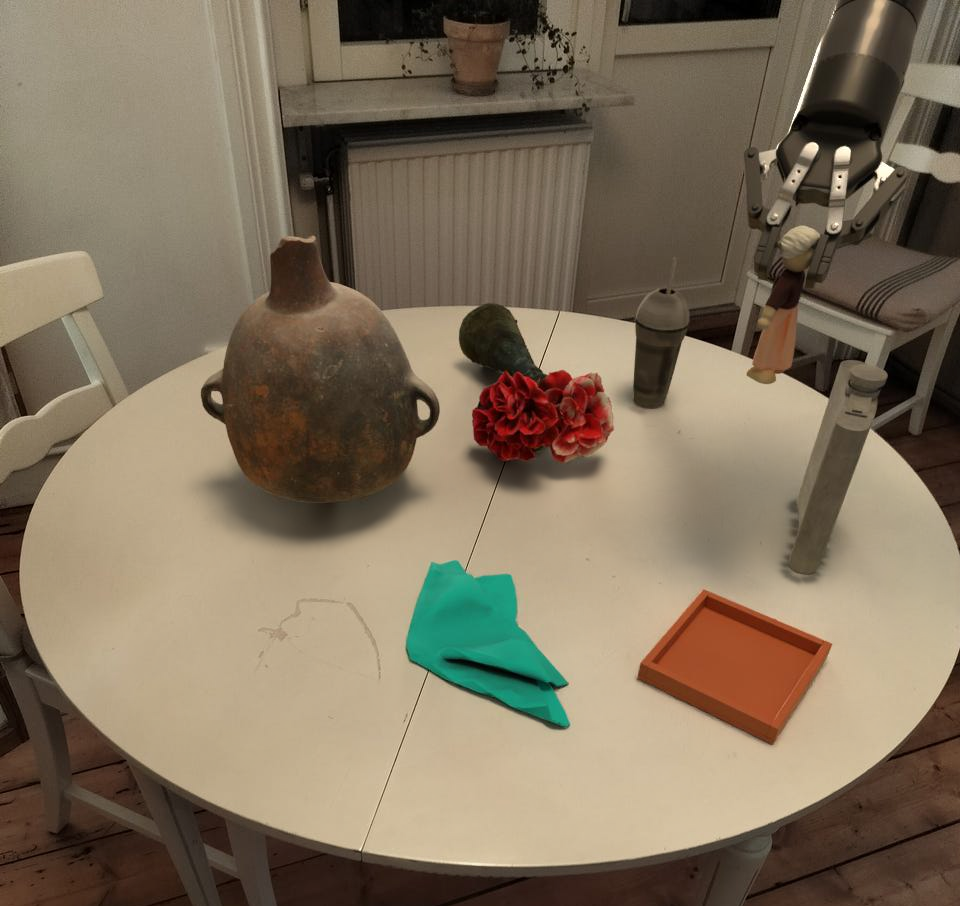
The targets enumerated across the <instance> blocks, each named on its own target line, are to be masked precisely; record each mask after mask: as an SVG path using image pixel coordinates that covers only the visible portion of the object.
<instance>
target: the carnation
mask: <svg viewBox="0 0 960 906" xmlns="http://www.w3.org/2000/svg"><path fill="white" fill-rule="evenodd" d="M458 344H459V348H460V350H461V353H462V354H463V355H464V356H465V357H466V358H467V359H468V360H470V362H472V363H474V364H476V365H480V366H483V367H486V368H489V369H491V370H494V371H496V372H502V374H501V375H500V376H499V377H498V379H497V380H496V382H494V383H490V384H489V385H486V386H485V387H484V388H483V389H482V391H481V392H480V395H479V397H478V403H477V406H476V407H474V408H473V409H472V411H471V412H472V413H471V416H472V420H471V422H472V428H473V429H472V431H473V441H475V443H476V444H477V445H478V446H479V447H487V449H488V450H489V451H491V452H492V453H493V454H495V455H496V457H497V458H498V459H499V460H500V461H502V462H509V461H510V460H514V459H517V460H522V461H524V462H528V461H530V460H534V459H538V457H537V456H536V453H538V452H540V451H541V450H542V449H543V448H549V449H550V453H551V455H552V457H553V458H554V459H555V461H557V462H560V463H563V464H564V463H568V462H570V461H572V460H574V459H576V458H578V457H579V458H580V457H582V456H584V457H590V456H593V455H594V454H595V453H596V452H597V451H598V450H600V449H601V448H603V447H604V446H605V444H606V443H607V442H608V439H609V436H610V435H611V433H613V432H614V430H615V426H614V419H615V418H614V413H613V405H612V401H611V399H610V397H609V396H607V394H606V393H605V388H604V384H603V381H602V377H601V375H599V373H598V372H589V373H587V374H585V375H580V376H575V377H572V376H571V374H570V373H569V372H567V370H564V369H560V370H557V371H552V372H551V371H550V372H549V373H548V374H547V373H545V372H544V371H543V370H542V369H541V368H540V367H538V366H537V365H536V364H535V361H534V360H533V358H532V355H531V353H530V350H529V348H528V346H527V344H526V341H525V338H524V337H523V335H522V332H521V330H520V328H519V325H518V319H516V318H515V317H514V315H513V313H512V312H511V310H510V309H508V308H507V307H506V306H505V305H503V304H499V303H494V302H485V303H483V304H481V305H479V306H477V307H476V308H474V309H472V310H471V311H469V312H468V313H467V315H465V316H464V318H463V319H462V321H461V323H460V327H459V330H458Z"/></svg>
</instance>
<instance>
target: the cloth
mask: <svg viewBox="0 0 960 906" xmlns="http://www.w3.org/2000/svg"><path fill="white" fill-rule="evenodd" d="M516 591H517V590H516V586H515V583H514V579H513V577H512V574H509V573H501V574H488V575H481V576H477V577H474V575H473V574H471V573H470V574H469V573H467V572H466V570H465V568H464V567H463V566H462V564H461V563H460V561H459V560H457V559H455V560H454V559H453V560H450V561H447V562H443V563H437V562H433V561H431V562H430V564H429V567H428V570H427V573H426V576H425V578H424V581H423V584H422V586H421V589H420V592H419V595H418V597H417V600H416V602H415V606H414V609H413V613H412V616H411V620H410V624H409V628H408V632H407V636H406V645H405V646H406V649H407V653H408V656H409V660H411V661H412V662H415V663H416V662H417V663H416V664H418V665H420V666H421V667H423V668H425V669H427V668H428V669H429V670H428V669H427V670H428V671H430V670H431V671H430V672H431V673H433V674H435V675H437V676H439V677H440V678H442V679H444V680H447V681H449V682H452V683H454V684H457V685H460V686H462V687H464V688H467V689H470V690H472V691H474V692H477V693H478V694H481V695H482V694H483V695H485V696H489V697H492V698H495V699H497V700H499V701H501V702H502V703H504V704H506V705H508V706H509V707H511V708H513V709H516V710H519V711H522V712H523V713H527V714H529V715H531V716H534V717H538V718H540V719H541V720H545V721H547V722H550V723H553V724H556V725H559V726H561V727H563V728H568V727H570V726H571V723H570V720H569V717H568V715H567V713H566V710H565V708H564V707H563V705H562V703H561V701H560V699H559V697H558V696H557V694H556V692H555V690H554V688H553V687H552V685H554V686H555V687H557V688H558V687H562V686H563V687H564V686H568V685H570V683H569V682H568V680H566V678H565V677H564V676H563V675H562V674H561V673H560V671H559V670H558V669H557V668H556V667H555V665H554V664H553V663H551V661H550V660H549V659H548V658H547V657H546V656H545V654H544V653H543V652H542V651H541V650H540V649H539V647H538V646H537V645H536V644H535V642H534V641H533V640H532V638H531V636H529V634H528V633H527V632H526V631H525V630H524V629H522V628H521V627H519V623H518V622H517V615H518V597H517V592H516ZM551 684H552V685H551Z"/></svg>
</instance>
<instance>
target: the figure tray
mask: <svg viewBox="0 0 960 906" xmlns="http://www.w3.org/2000/svg"><path fill="white" fill-rule="evenodd" d="M832 647H833V643H831V642H829V641H827V640H824V639H822V638H820V637H817V636H816V635H813V634H810V633H808V632H806V631H803V630H801V629H798V628H797V627H794V626H792V625H789V624H786V623H784V622H782V621H780V620H777V619H775V618H773V617H771V616H768V615H766V614H763V613H761V612H758V611H757V610H754V609H752V608H749V607H747V606H744V605H742V604H741V603H737V602H736V601H733V600H731V599H728V598H726V597H724V596H721V595H718V594H716V593H714V592H711V591H710V590H708V589H705V588H703V589H702V590H701V591H700V592H699V594H697V595H696V597H695V598H694V599H693V600H692V602H691V603H690V604H689V605H688V606H687V608H685V610H684V611H683V612H682V613H681V614H680V616H679V617H678V618H677V619H676V620H675V622H674V623H673V624H672V625H671V626H670V627H669V628H668V630H667V631H666V632H665V633H664V635H663V636H662V637H661V638H660V639H659V640H658V642H657V643H656V644H655V645H654V646H653V647H652V649H650V651H649V652H648V653H647V654H646V656H645V657H644V658H643V659H642V660H641V662H640V663H639V668H638V673H637V679H638V680H639V681H642V682H644V683H646V684H648V685H650V686H652V687H654V688H656V689H658V690H659V691H663V692H664V693H667V694H668V695H670V696H673V697H674V698H676V699H679V700H681V701H683V702H684V703H686V704H688V705H691V706H693V707H695V708H697V709H699V710H701V711H703V712H705V713H707V714H709V715H712V716H713V717H715V718H717V719H719V720H721V721H724V722H726V723H727V724H729V725H732V726H734V727H735V728H738V729H740V730H741V731H744V732H746V733H748V734H750V735H752V736H754V737H756V738H757V739H760V740H762V741H764V742H766V743H768V744H771V745H774V744H775V742H776V741H777V739H778V737H779V736H780V734H781V733H782V731H783V729H784V728H785V726H786V724H787V723H788V722H789V720H790V718H791V716H792V715H793V713H794V712H795V710H796V709H797V707H798V705H799V704H800V703H801V701H802V699H803V698H804V696H805V695H806V693H807V691H808V689H809V688H810V686H811V685H812V683H813V681H814V680H815V678H816V676H817V675H818V674H819V672H820V670H821V669H822V667H823V665H824V664H825V663H826V661H827V659H828V657H829V654H830V651H831V649H832Z"/></svg>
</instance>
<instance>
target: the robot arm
mask: <svg viewBox="0 0 960 906" xmlns="http://www.w3.org/2000/svg"><path fill="white" fill-rule="evenodd" d="M928 1H929V0H836V2H835V4H834V8H833V10H832V14H831V17H830V19H829V22H828V25H827V27H826V29H825V31H824V33H823V35H822V37H821V39H820V42H819V43H818V46H817V48H816V51H815V54H814V56H813V60H812V63H811V65H810V68H809V71H808V74H807V77H806V81H805V83H804V86H803V90H802V92H801V95H800V98H799V101H798V104H797V107H796V109H795V112H794V116H793V118H792V121H791V124H790V127H789V130H788V132H787V133H786V135H785V137H783V138H782V139H781V140H780V141H779V142H778V144H777V145H776V148H773V149H768V150H765V151H759V149H758V148H757V147H755V146H750V147H748V148H746V150H744V152H743V173H744V186H745V199H746V200H745V201H746V212H747V213H746V214H747V215H746V216H747V225H748V227H749V228H750V229H752V230H758V231H760V232H761V235H760V238H759V241H758V244H757V247H756V250H755V252H754V255H753V271H754V272H755V273H757V280H759V281H767V280H768V278H769V275H770V273H771V269H772V268H773V267H772V266H773V263H774V261H775V257H776V255H777V252H778V250H779V248H778V247H777V242H778V241H780V240H781V235H782V233H783V231H784V229H785V228H786V227H787V225H788V223H789V221H790V219H792V218H793V217H794V215H795V214H796V212H797V210H798V208H799V206H800V204H801V205H808V204H816V205H818V206H820V207H824V208H827V217H826V225H825V229H824V232H823V233H821V234H820V238H819V241H818V244H817V247H816V248H815V249H814V255H813V258H812V261H811V264H810V266H809V267H808V270H807V274H806V275H805V281H804V288H805V289H809V290H814V289H815V288H816V287H815V286H816V284H817V283H818V284H823V283H824V281H825V280H826V279H827V277H828V274H829V271H830V268H831V265H832V261H833V259H834V256H835V253H836V250H837V249H838V248H839V247H840V246H843V245H846V244H850V245H852V246H859V245H861V244H862V243H863V242H864V241H865V240H866V238H867V237H868V235H870V233H872V231H873V230H874V229H875V228H876V226H877V225H878V224H879V223H880V222H881V220H882V219H883V218H884V217H885V216H886V214H887V213H888V212H889V211H890V210H891V209H892V207H893V206H894V205H895V204H896V203H897V202H898V200H899V199H900V198H901V197H902V196H903V194H904V192H905V189H906V186H907V181H908V179H909V178H908V177H909V174H910V172H909V171H910V170H909V169H908V167H906V166H904V165H899V166H897V167H895V168H894V167H892V166H890V165H888V164H886V163H885V162H883V153H882V149H881V147H882V144H883V141H884V138H885V136H886V133H887V130H888V128H889V127H888V126H889V124H890V120H891V119H892V115H893V112H894V109H895V106H896V104H897V100H898V98H899V95H900V93H901V91H902V89H903V86H904V85H905V80H906V79H905V77H906V74H907V71H908V68H909V65H910V63H911V58H912V52H913V48H914V44H915V43H914V42H915V39H916V35H917V32H918V30H919V27H920V24H921V21H922V18H923V15H924V13H925V9H926V7H927V3H928ZM775 166H776V168H777V170H778V172H779V176H780V177H781V180H782V183H783V184H782V186H781V187H780V190H779V192H778V195H777V198H776V200H775V201H774V203H773V204H772V207H771V208H770V209H769V208H767V207H765V206H764V205H763V192H762V183H763V182H765V181H766V180H767V179H768V178H769V176H770V172H771V170H772V168H774V167H775ZM873 179H874V180H875V181H874V184H873V189H872V193H873V195H872V196H871V197H870V198H869V199H868V200H867V202H866V203H865V204H864V205H863V207H861V208H860V210H859V211H858V213H857V214H856V215H855V216H854V217H853V219H848V220H844V215H845V205H846V200H847V199H849V198H850V197H851V196H852V195H854V194H855V193H856V192H857V191H859V190H860V189H862V188H863V187H864V186H865V185H867V184H868V183H869V182H870V181H872V180H873Z"/></svg>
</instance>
